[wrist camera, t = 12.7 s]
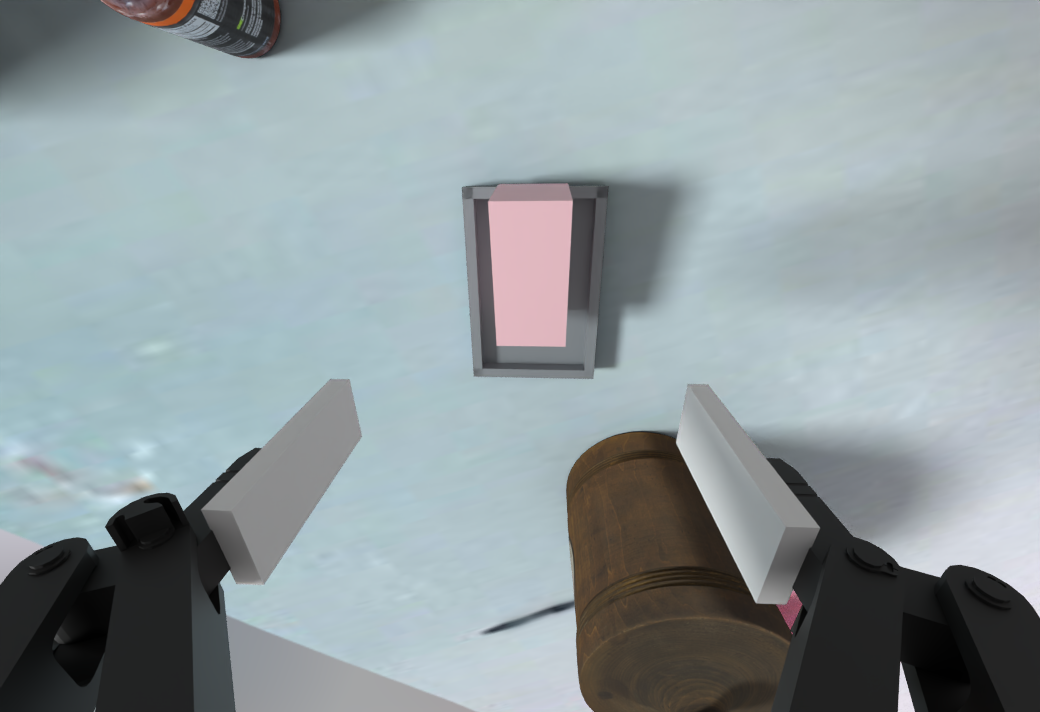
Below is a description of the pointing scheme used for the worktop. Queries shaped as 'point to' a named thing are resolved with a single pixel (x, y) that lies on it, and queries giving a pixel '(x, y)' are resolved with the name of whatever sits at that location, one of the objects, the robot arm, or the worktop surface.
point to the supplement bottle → (211, 22)
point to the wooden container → (662, 590)
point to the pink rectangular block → (530, 262)
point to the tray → (581, 292)
